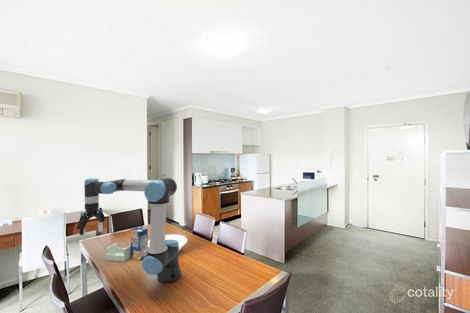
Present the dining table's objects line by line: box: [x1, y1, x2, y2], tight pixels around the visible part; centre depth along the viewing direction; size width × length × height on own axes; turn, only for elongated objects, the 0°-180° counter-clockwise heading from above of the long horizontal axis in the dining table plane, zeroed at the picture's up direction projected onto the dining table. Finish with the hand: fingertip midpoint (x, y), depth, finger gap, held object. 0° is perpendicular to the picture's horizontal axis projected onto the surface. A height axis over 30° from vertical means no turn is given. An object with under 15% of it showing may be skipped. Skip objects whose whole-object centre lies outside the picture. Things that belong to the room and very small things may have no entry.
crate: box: [104, 241, 132, 263], centre depth 164 cm, size 16×13×9 cm
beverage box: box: [130, 226, 149, 262], centre depth 164 cm, size 7×11×22 cm, turn 62°
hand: (92, 235), depth 136 cm, fingers open, 13 cm apart
